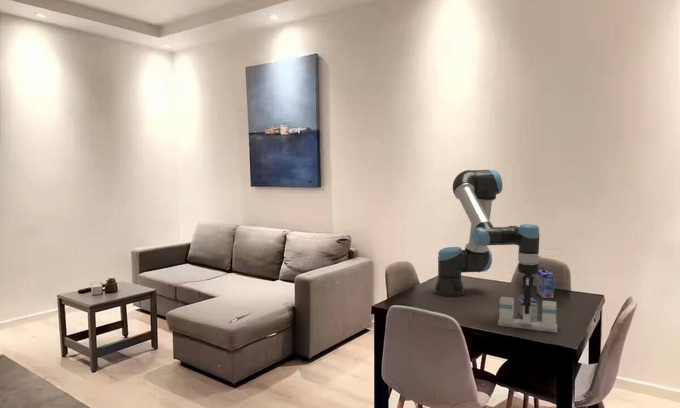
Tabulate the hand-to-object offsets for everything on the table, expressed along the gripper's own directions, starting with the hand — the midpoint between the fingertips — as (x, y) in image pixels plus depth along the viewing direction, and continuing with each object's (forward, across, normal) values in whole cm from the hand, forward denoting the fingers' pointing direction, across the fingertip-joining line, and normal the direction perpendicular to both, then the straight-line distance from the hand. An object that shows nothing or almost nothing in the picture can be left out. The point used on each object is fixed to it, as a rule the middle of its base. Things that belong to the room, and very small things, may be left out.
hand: (527, 317), depth 188 cm
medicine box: (+1, 0, 0) cm, 1 cm away
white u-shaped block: (+3, 0, 0) cm, 3 cm away
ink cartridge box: (+4, +52, -6) cm, 52 cm away
